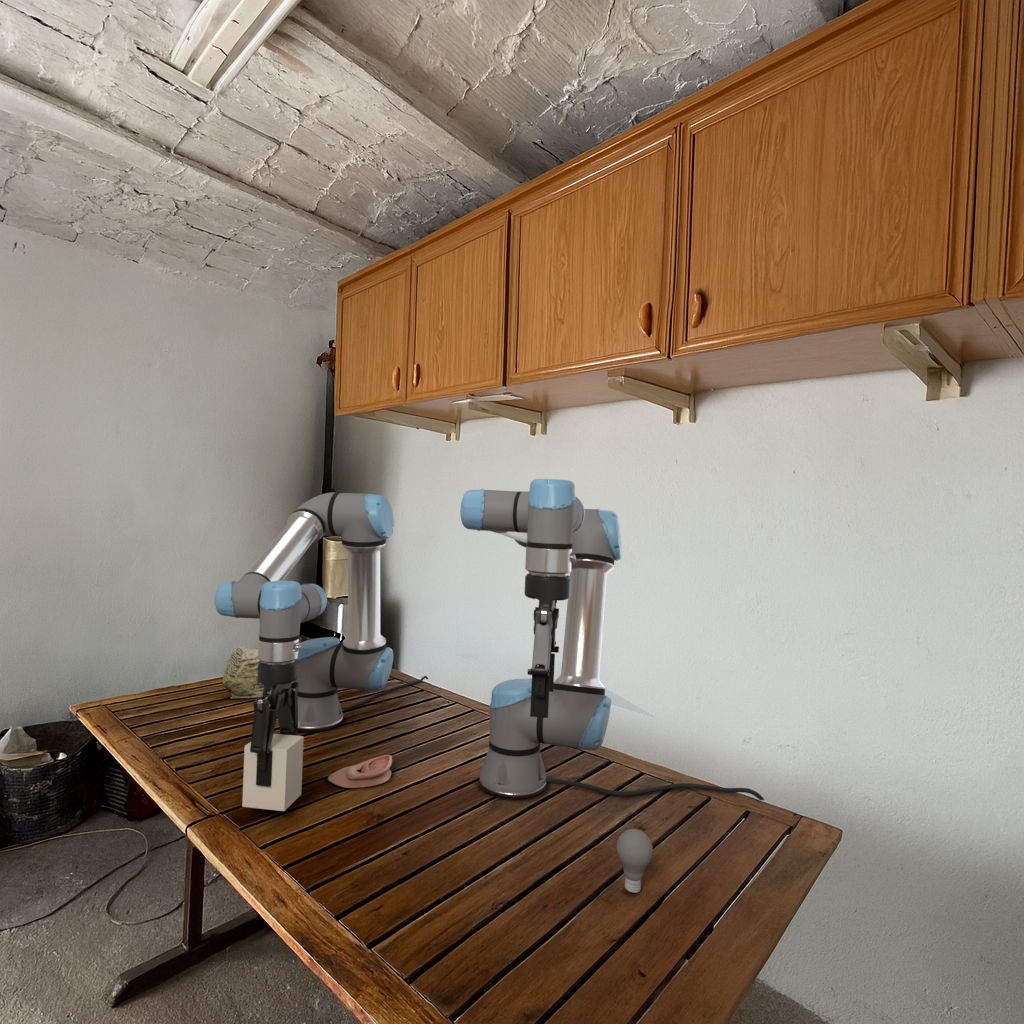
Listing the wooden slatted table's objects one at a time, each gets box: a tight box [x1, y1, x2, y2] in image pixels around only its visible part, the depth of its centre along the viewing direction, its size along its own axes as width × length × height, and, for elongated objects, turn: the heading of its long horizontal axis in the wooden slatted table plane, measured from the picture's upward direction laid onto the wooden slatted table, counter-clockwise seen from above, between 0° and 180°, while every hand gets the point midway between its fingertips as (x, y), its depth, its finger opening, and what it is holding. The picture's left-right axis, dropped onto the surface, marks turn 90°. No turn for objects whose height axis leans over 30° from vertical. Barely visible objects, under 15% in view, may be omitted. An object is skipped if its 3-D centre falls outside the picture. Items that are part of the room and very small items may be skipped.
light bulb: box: [615, 828, 654, 894], centre depth 106 cm, size 6×6×10 cm
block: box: [241, 733, 305, 812], centre depth 125 cm, size 9×7×12 cm
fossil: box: [222, 646, 264, 699], centre depth 198 cm, size 9×18×15 cm, turn 132°
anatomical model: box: [327, 754, 393, 789], centre depth 143 cm, size 13×4×12 cm
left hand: (273, 776), depth 125 cm, fingers closed on block, 7 cm apart
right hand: (542, 703), depth 104 cm, fingers open, 13 cm apart
